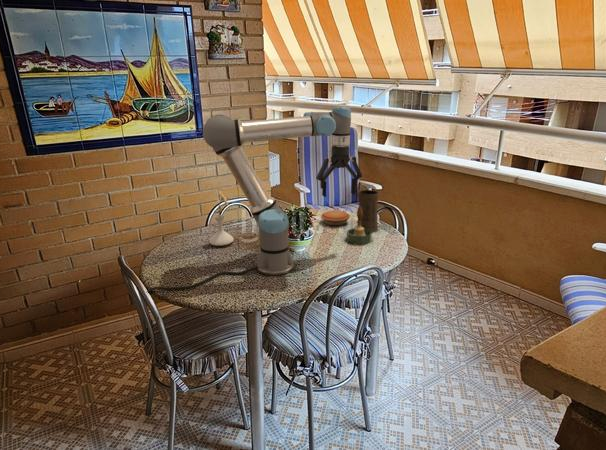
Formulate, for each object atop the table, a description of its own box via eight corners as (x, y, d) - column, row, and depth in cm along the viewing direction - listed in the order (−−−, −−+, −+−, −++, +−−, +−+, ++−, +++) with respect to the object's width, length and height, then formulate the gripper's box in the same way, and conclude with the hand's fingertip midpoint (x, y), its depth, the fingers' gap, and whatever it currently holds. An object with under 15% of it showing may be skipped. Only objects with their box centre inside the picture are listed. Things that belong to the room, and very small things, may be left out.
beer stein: (379, 232, 204) (380, 193, 199) (358, 232, 204) (358, 193, 199) (375, 224, 219) (376, 187, 214) (354, 224, 219) (355, 187, 214)
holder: (352, 245, 189) (352, 237, 188) (343, 237, 200) (343, 229, 198) (375, 242, 192) (375, 234, 191) (364, 234, 203) (365, 226, 201)
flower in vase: (229, 248, 188) (224, 196, 180) (205, 247, 190) (200, 195, 182) (238, 238, 201) (234, 189, 192) (215, 237, 202) (211, 188, 194)
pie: (335, 215, 231) (335, 207, 229) (355, 222, 219) (356, 213, 218) (315, 221, 221) (315, 213, 220) (335, 229, 210) (335, 219, 208)
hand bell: (347, 238, 196) (347, 207, 190) (357, 234, 201) (358, 203, 196) (360, 243, 190) (361, 210, 185) (371, 238, 196) (372, 206, 190)
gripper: (315, 147, 163) (314, 199, 170) (371, 145, 170) (368, 194, 177) (309, 145, 169) (308, 194, 176) (363, 143, 177) (361, 190, 184)
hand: (338, 194), depth 177 cm, fingers open, 13 cm apart
